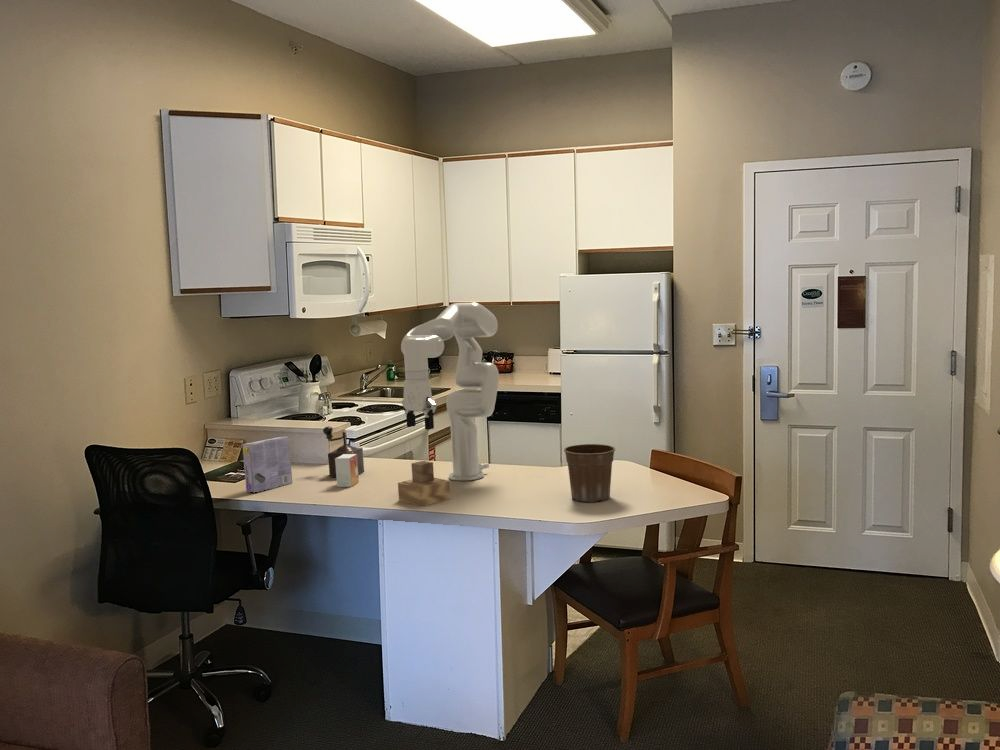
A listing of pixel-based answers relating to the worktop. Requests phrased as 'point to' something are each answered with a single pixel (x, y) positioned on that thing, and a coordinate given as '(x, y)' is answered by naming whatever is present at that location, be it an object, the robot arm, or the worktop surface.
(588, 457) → the plant pot
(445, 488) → the oak base
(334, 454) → the manual coffee grinder
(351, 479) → the small box
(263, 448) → the cake pan box
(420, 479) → the walnut block
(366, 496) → the worktop surface
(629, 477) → the worktop surface
